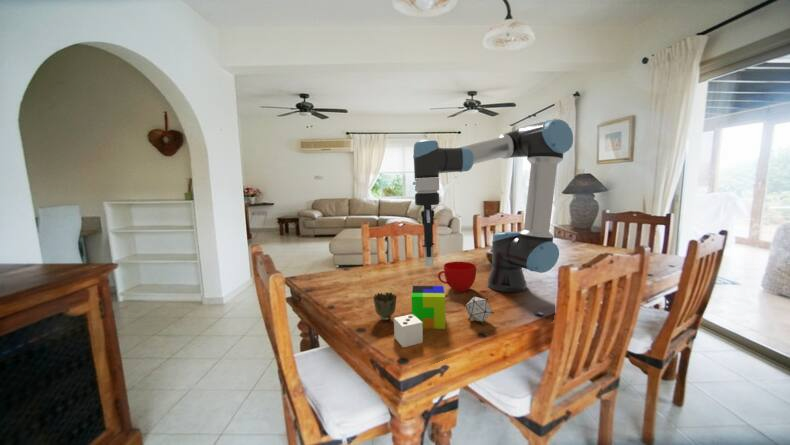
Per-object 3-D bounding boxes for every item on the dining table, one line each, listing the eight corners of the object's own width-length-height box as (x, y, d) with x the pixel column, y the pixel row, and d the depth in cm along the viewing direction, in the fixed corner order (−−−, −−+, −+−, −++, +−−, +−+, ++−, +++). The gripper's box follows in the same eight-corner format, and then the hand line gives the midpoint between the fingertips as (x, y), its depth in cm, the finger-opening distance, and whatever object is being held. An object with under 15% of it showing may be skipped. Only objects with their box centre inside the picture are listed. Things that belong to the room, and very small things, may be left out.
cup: (396, 314, 104) (396, 291, 103) (397, 324, 96) (396, 299, 95) (374, 315, 104) (373, 292, 103) (373, 325, 96) (372, 300, 95)
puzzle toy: (443, 314, 103) (443, 286, 101) (445, 328, 93) (445, 297, 92) (413, 314, 104) (412, 285, 102) (412, 328, 94) (411, 296, 93)
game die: (477, 335, 96) (467, 317, 91) (465, 315, 103) (454, 297, 98) (502, 320, 96) (493, 301, 90) (488, 302, 103) (479, 283, 98)
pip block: (413, 333, 91) (412, 313, 90) (422, 342, 85) (422, 321, 84) (394, 337, 88) (393, 317, 88) (402, 347, 83) (402, 326, 82)
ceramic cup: (429, 288, 128) (429, 265, 127) (462, 282, 135) (463, 260, 134) (447, 298, 116) (447, 273, 115) (482, 291, 123) (483, 267, 122)
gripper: (414, 191, 102) (417, 261, 105) (414, 193, 89) (417, 272, 92) (437, 191, 101) (439, 260, 104) (440, 192, 88) (442, 271, 92)
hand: (429, 265), depth 98 cm, fingers closed
